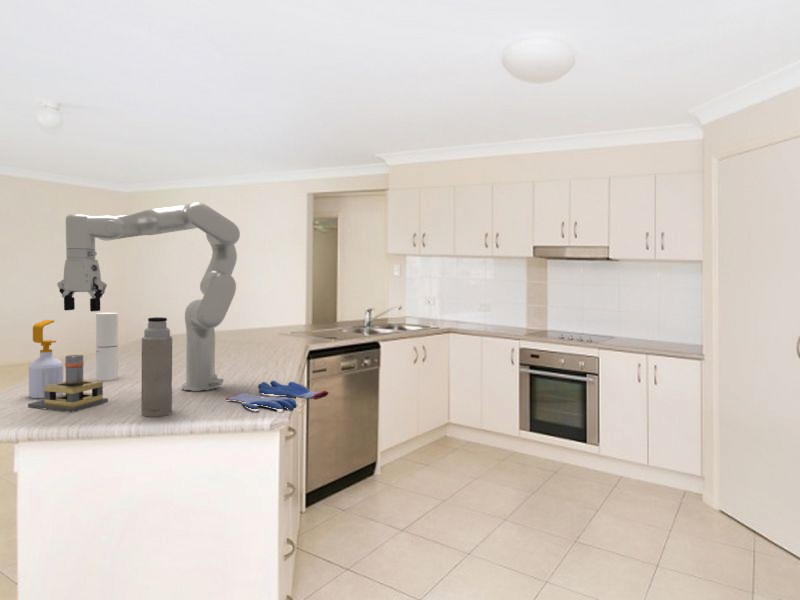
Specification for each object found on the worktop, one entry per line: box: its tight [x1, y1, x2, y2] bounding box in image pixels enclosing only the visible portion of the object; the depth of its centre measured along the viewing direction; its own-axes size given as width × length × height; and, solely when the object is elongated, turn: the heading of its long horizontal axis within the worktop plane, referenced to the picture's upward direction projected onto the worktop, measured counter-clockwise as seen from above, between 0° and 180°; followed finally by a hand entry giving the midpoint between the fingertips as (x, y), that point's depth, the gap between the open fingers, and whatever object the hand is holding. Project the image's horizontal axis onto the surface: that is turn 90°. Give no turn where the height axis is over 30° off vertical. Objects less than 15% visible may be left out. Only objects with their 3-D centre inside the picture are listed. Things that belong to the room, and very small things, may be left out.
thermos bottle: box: [141, 316, 173, 418], centre depth 144 cm, size 8×8×28 cm
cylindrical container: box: [95, 312, 119, 382], centre depth 188 cm, size 7×7×25 cm
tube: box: [64, 354, 85, 399], centre depth 151 cm, size 5×5×14 cm
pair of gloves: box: [225, 380, 330, 411], centre depth 165 cm, size 32×26×4 cm
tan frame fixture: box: [27, 379, 109, 413], centre depth 152 cm, size 16×13×6 cm
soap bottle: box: [28, 319, 64, 399], centre depth 161 cm, size 9×9×25 cm
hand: (82, 310), depth 154 cm, fingers open, 9 cm apart
